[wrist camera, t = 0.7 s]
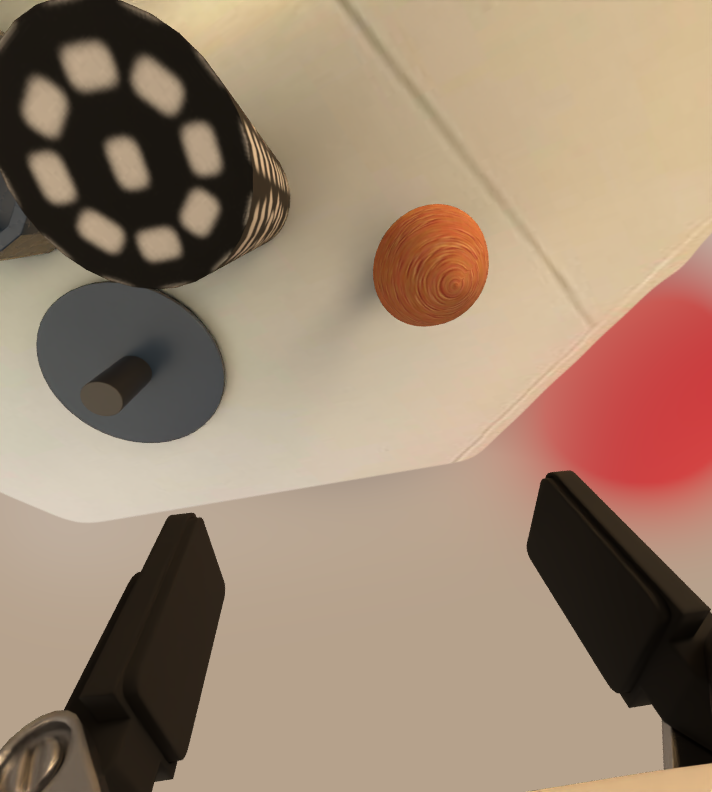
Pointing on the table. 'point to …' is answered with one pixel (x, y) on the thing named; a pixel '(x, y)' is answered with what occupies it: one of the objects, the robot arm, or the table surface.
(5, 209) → the pot
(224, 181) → the spotted tube
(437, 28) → the table surface
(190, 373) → the lid
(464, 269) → the mushroom
